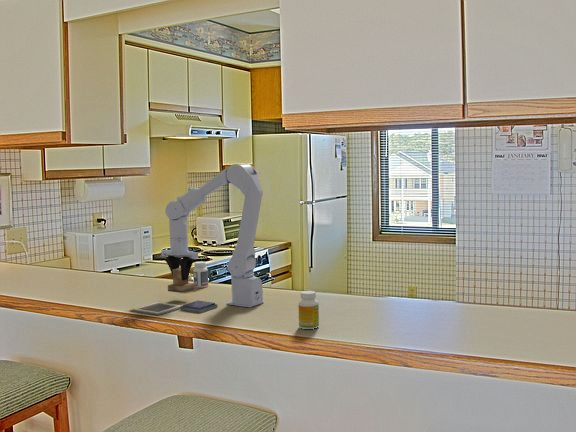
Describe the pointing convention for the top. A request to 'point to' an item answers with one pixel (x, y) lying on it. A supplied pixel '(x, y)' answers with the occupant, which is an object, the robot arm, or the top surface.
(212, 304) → the ink pad
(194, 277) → the pill bottle
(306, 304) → the supplement bottle
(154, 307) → the marked square
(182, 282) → the stamp
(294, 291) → the top surface
